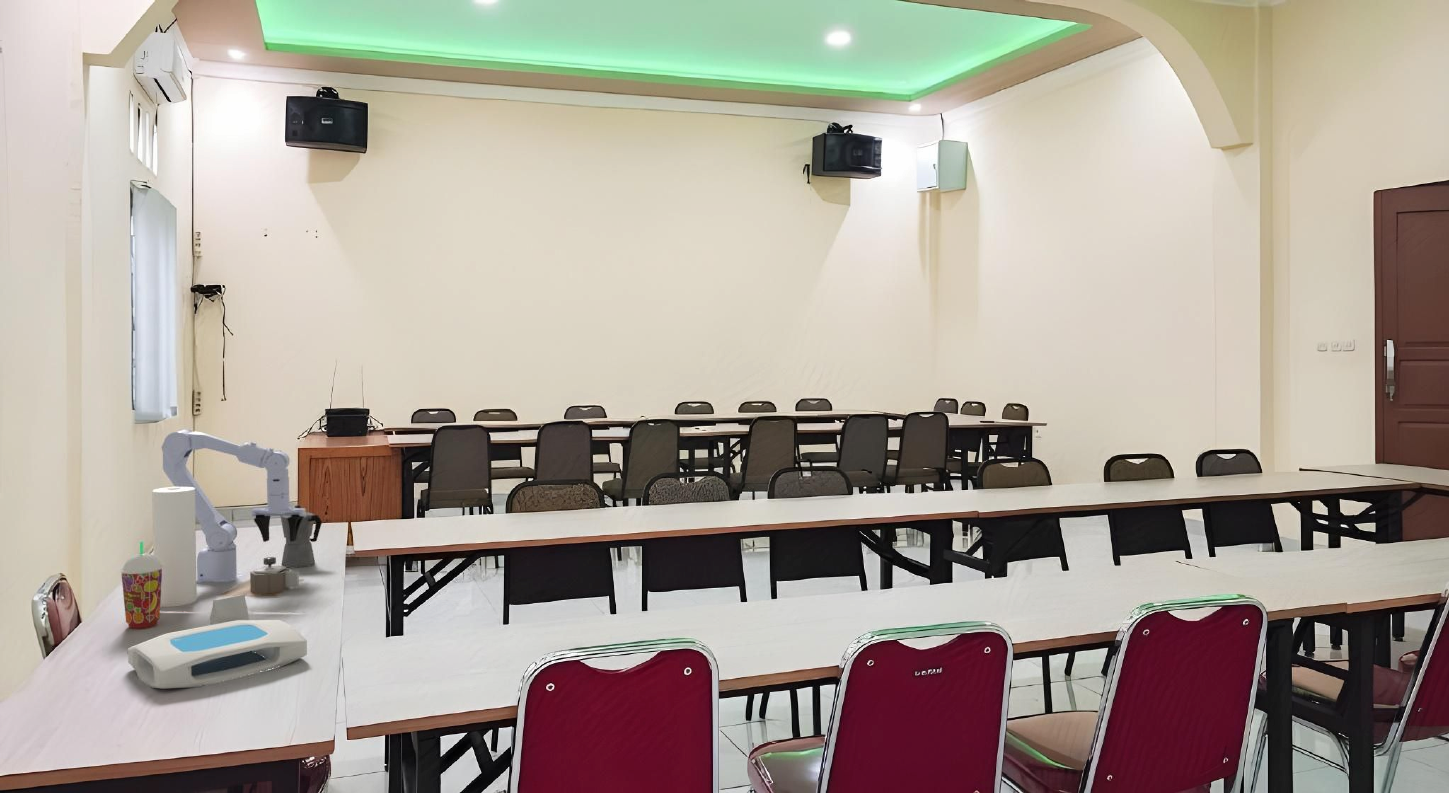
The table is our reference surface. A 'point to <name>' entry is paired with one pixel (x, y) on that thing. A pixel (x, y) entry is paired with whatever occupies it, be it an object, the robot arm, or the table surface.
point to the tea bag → (229, 610)
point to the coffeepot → (300, 541)
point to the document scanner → (214, 652)
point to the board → (247, 591)
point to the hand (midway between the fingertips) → (279, 540)
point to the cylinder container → (175, 543)
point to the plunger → (269, 561)
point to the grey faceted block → (273, 579)
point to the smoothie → (142, 589)
